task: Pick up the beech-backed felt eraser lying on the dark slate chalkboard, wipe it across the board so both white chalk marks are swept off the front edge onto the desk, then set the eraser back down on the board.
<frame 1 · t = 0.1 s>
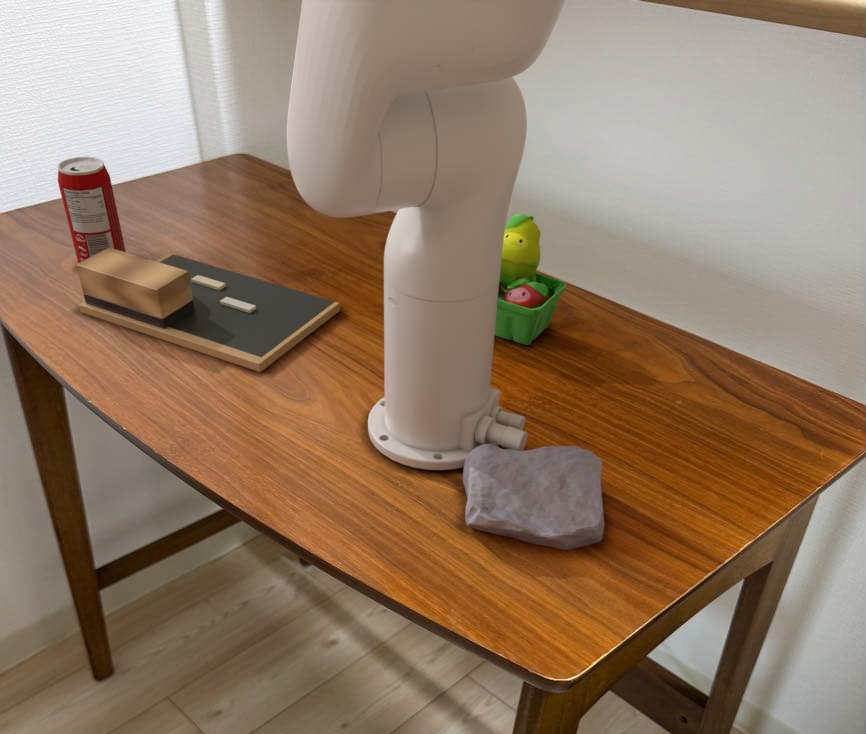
eraser: (140, 306, 98), point 1 cm above the table, touching chalkboard
chalkboard: (211, 311, 100), on the table
soda can: (104, 266, 108), on the table
chalk mark a: (238, 306, 99), point 1 cm above the table, touching chalkboard
stone block: (532, 516, 76), on the table
fruit basket: (504, 324, 100), on the table
chalk mark b: (208, 284, 102), point 1 cm above the table, touching chalkboard
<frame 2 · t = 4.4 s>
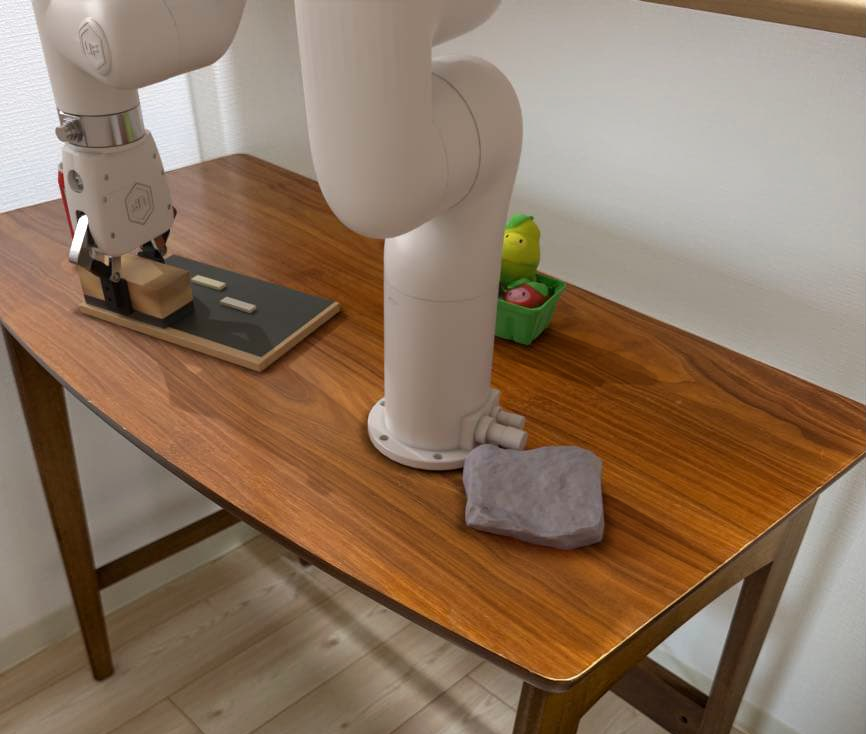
hand: (138, 298, 97), 2 cm above the table, tool pointing down, fingers closed on eraser, 5 cm apart
eraser: (140, 306, 98), point 1 cm above the table, touching chalkboard, gripper
everything else where it was.
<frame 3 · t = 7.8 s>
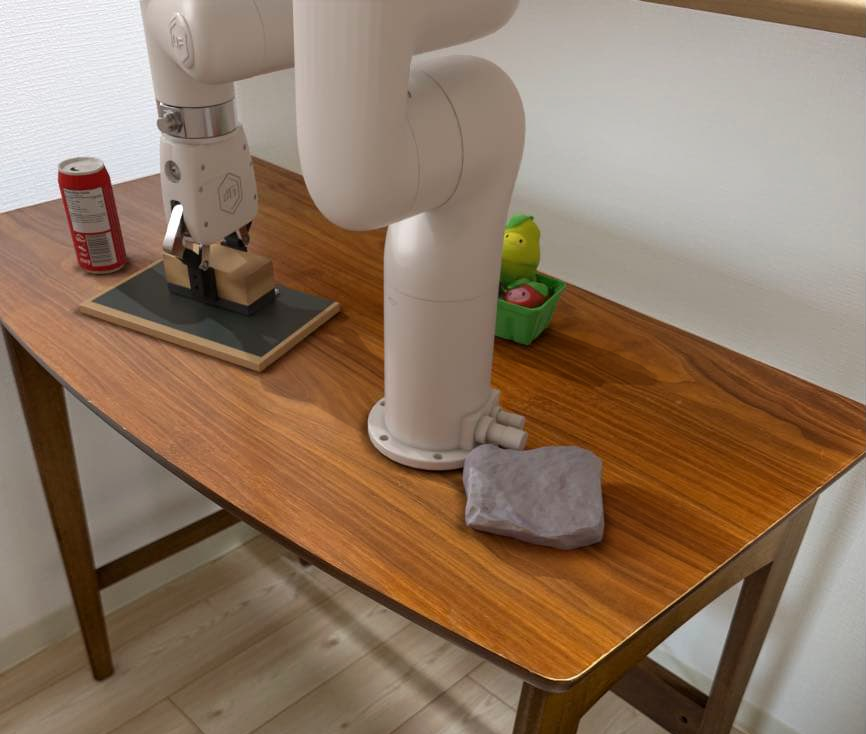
hand: (221, 287, 100), 2 cm above the table, tool pointing down, fingers closed on eraser, 5 cm apart
eraser: (222, 294, 101), point 1 cm above the table, touching gripper
chalk mark a: (261, 290, 102), point 1 cm above the table
chalk mark b: (218, 277, 104), point 1 cm above the table
everything else where it was.
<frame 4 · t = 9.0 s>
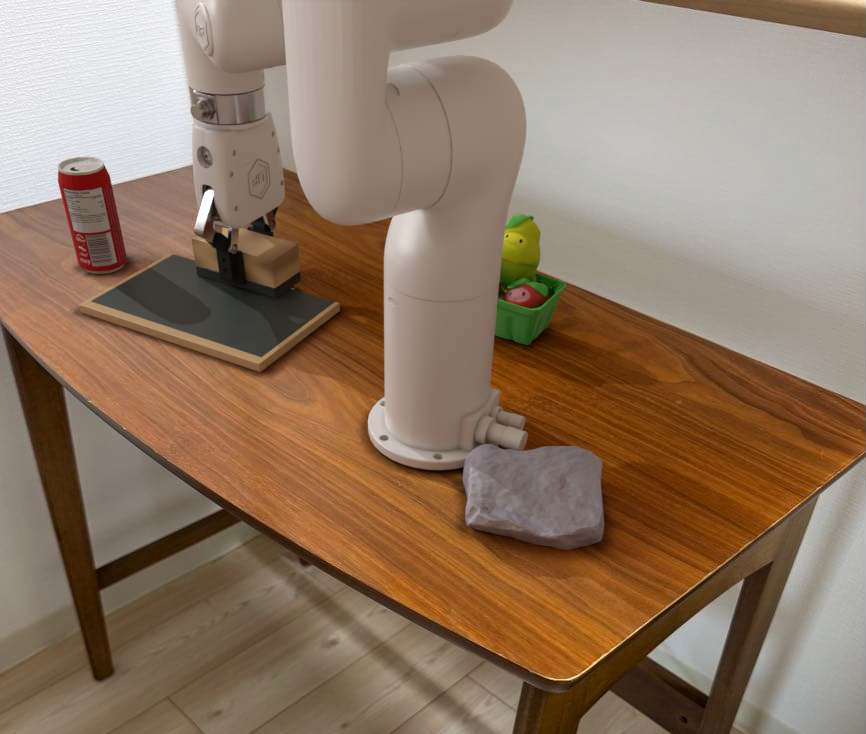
hand: (248, 270, 103), 2 cm above the table, tool pointing down, fingers closed on eraser, 5 cm apart
eraser: (248, 278, 104), point 1 cm above the table, touching gripper
chalk mark a: (277, 289, 104), on the table
chalk mark b: (239, 270, 107), on the table, tilted 180°
everything else where it was.
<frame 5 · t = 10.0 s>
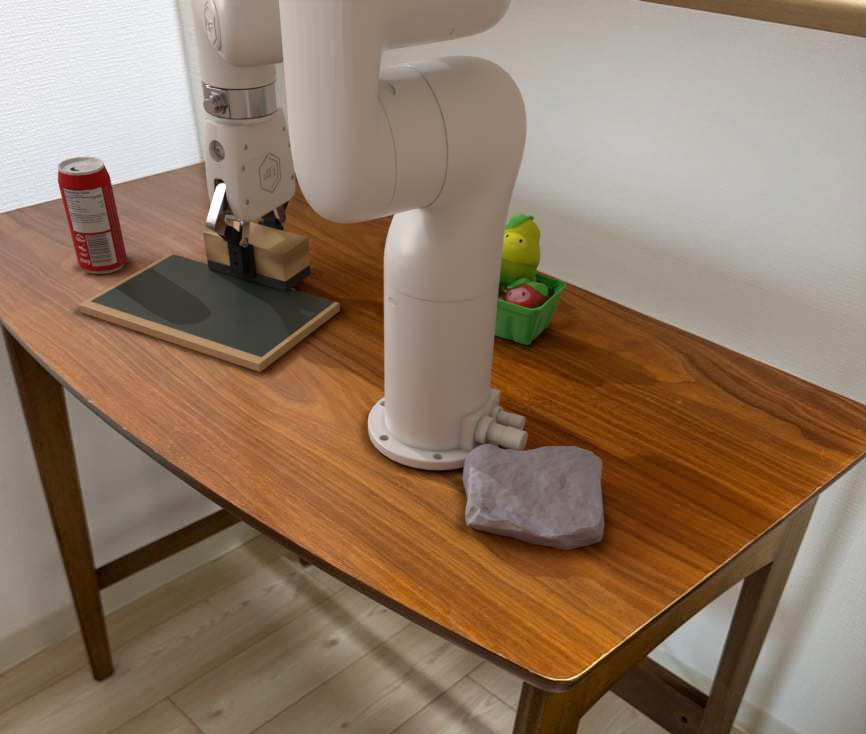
hand: (259, 264, 104), 2 cm above the table, tool pointing down, fingers closed on eraser, 5 cm apart
eraser: (259, 271, 105), point 1 cm above the table, touching gripper
everything else where it was.
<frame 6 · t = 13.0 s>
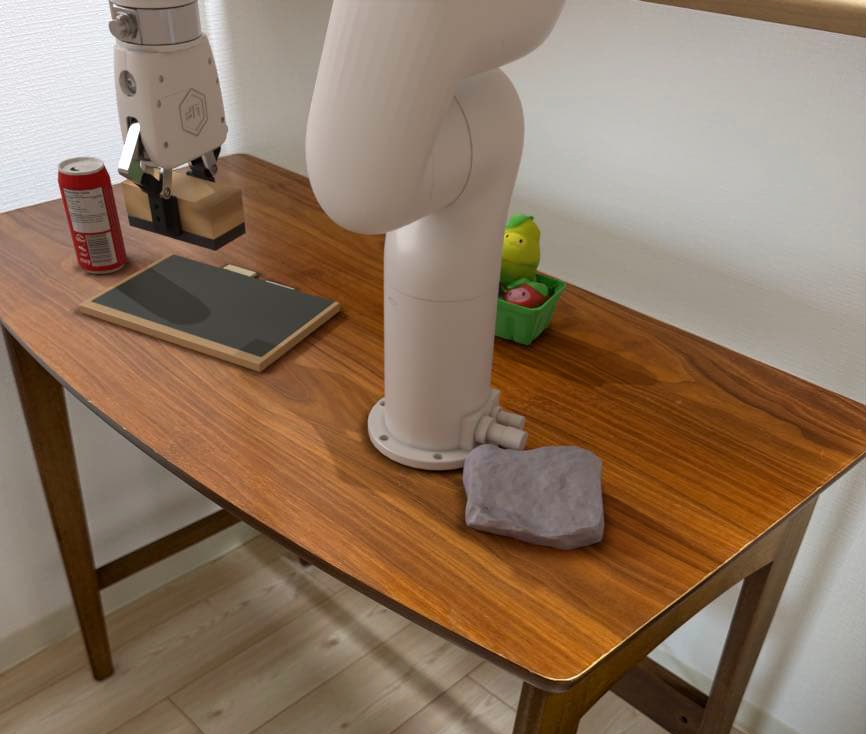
hand: (187, 221, 92), 11 cm above the table, tool pointing down, fingers closed on eraser, 5 cm apart
eraser: (187, 229, 92), point 10 cm above the table, touching gripper
everything else where it was.
when the fingers open (2 cm above the table, at t = 15.4 s): eraser stays where it is, resting on chalkboard.
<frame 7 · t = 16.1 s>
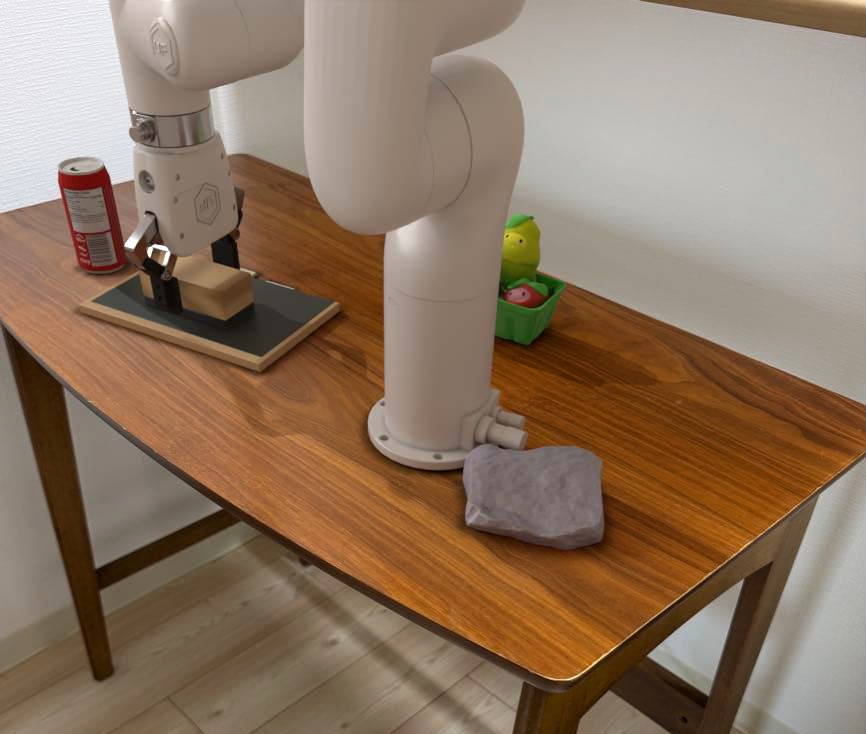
hand: (199, 292, 97), 3 cm above the table, tool pointing down, fingers open, 9 cm apart
eraser: (200, 308, 98), point 1 cm above the table, touching chalkboard
everything else where it was.
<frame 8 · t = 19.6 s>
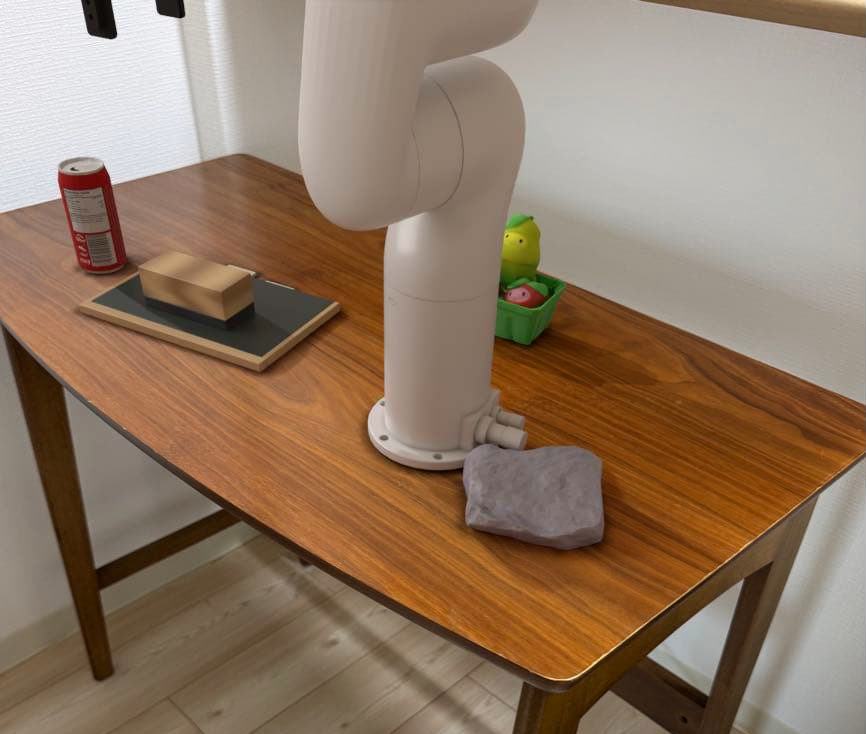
hand: (138, 26, 88), 26 cm above the table, tool pointing down, fingers open, 9 cm apart
nothing on the table moved.
at the end: chalk mark a on the table; chalk mark b on the table; eraser inside the target area on the chalkboard (1.5 cm from its centre), point 1.0 cm above the chalkboard's base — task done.
